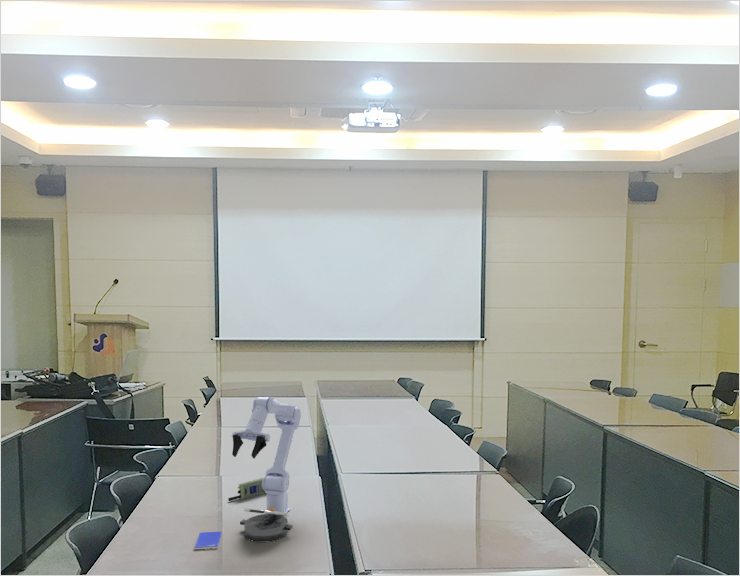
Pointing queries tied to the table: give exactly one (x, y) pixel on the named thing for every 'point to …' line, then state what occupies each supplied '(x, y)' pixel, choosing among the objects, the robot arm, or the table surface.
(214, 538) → the hard drive
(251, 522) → the cooker pot
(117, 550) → the table surface
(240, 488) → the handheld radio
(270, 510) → the lid
